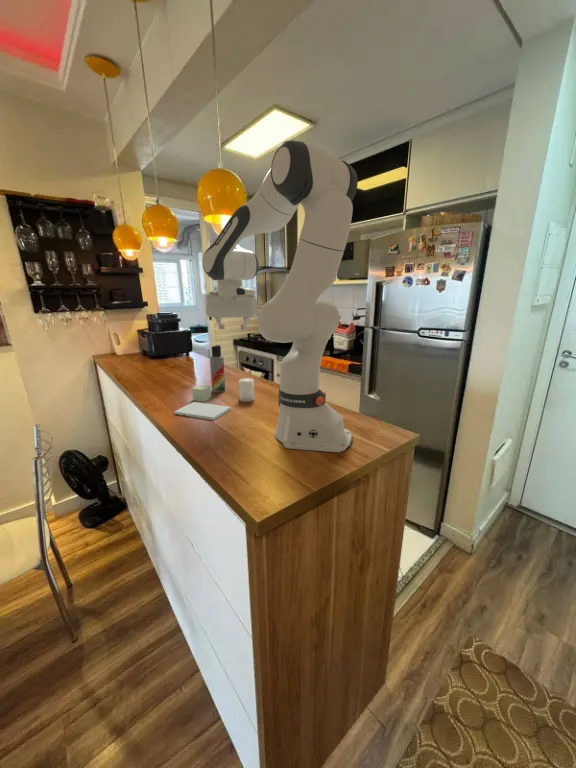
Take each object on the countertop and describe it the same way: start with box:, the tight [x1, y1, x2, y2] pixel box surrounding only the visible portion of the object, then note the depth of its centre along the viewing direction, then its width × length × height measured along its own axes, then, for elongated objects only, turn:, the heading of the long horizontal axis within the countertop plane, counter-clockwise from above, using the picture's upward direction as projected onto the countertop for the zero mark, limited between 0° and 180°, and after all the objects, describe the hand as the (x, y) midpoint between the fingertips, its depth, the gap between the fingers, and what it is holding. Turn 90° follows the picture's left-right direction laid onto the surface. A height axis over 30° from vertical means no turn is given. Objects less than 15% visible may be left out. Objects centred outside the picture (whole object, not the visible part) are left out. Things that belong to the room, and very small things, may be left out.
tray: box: [174, 401, 232, 421], centre depth 110 cm, size 16×11×1 cm
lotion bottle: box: [209, 344, 226, 393], centre depth 132 cm, size 6×6×20 cm
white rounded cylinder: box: [238, 377, 255, 403], centre depth 122 cm, size 6×6×8 cm
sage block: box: [191, 384, 212, 402], centre depth 123 cm, size 5×5×5 cm
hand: (232, 329), depth 116 cm, fingers open, 8 cm apart
